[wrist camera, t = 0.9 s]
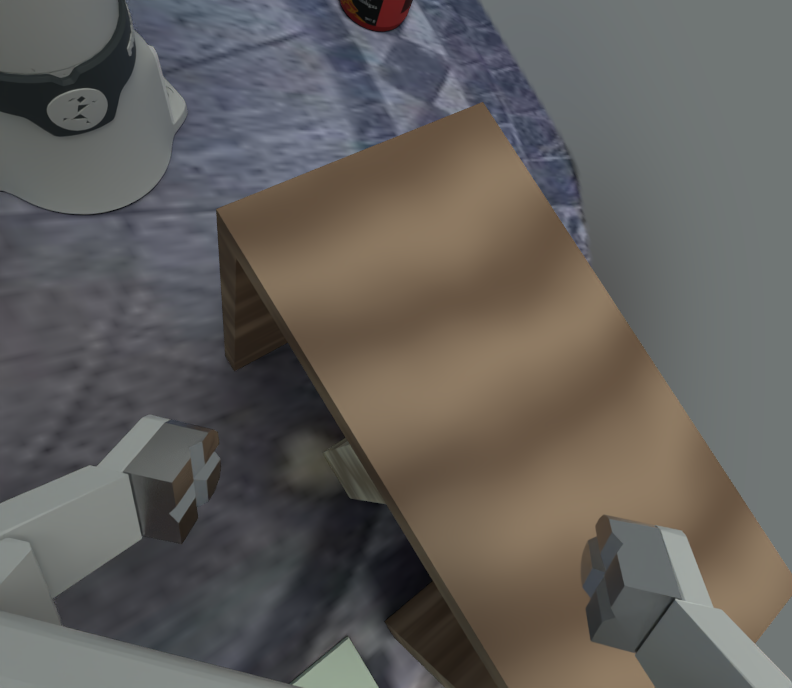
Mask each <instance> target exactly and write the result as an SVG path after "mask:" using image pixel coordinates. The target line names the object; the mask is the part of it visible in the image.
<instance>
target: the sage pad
mask: <svg viewBox="0 0 792 688" xmlns="http://www.w3.org/2000/svg"><path fill="white" fill-rule="evenodd" d="M290 684H291V685H295V686H299V687H303V688H379V687H378V686H377V684H376V682H375V681H374V679H373V677H372V676H371V674H370V672H369V671H368V669H367V667H366V666H365V664H364V662H363V661H362V659H361V657H360V656H359V654H358V652H357V650H356V649H355V647H354V645H353V644H352V642H351V640H350V639H349V637H348V636H347V637H346V638H344V639H343V640H342V641H341V642H339V643H338V644H337V645H336V646H335V647H333V648H332V649H331V650H330V651H329V652H327V653H326V654H325V655H324V656H322V657H321V658H320V659H319V660H318V661H316V662H315V663H314V664H313V665H312V666H310V667H309V668H308V669H307V670H305V671H304V672H303V673H302V674H301V675H299V676H298V677H297V678H296V679H295V680H293V681H292V682H291V683H290Z"/></svg>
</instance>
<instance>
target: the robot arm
mask: <svg viewBox="0 0 792 688" xmlns="http://www.w3.org/2000/svg"><path fill="white" fill-rule="evenodd" d="M187 113H188V110H187V107H186V103H185V101H184V99H183V98H182V96H181V95H180V94H179V93H178V92H177V91H176V90H175V89H174V88H173V86H172V85H171V84H170V83H169V82H168V81H167V80H166V79H165V78H164V77H163V74H162V70H161V67H160V63H159V59H158V56H157V53H156V51H155V49H154V47H152V46H149V45H147V43H146V42H145V41H144V39H143V38H142V37H141V36H140V35H139V34H138V33H137V32H136V31H135V30H134V28H133V23H132V19H131V15H130V11H129V9H128V6H127V3H126V2H125V0H0V191H5V192H8V193H10V194H13V195H15V196H17V197H19V198H21V199H23V200H25V201H27V202H29V203H31V204H34V205H36V206H39V207H42V208H45V209H48V210H52V211H56V212H62V213H70V214H95V213H102V212H107V211H111V210H115V209H118V208H121V207H124V206H126V205H129V204H131V203H133V202H135V201H136V200H138V199H140V198H141V197H143V196H144V195H145V194H147V193H148V192H149V191H150V190H151V189H152V188H153V187H154V186H155V185H156V184H157V183H158V182H159V181H160V179H161V178H162V176H163V175H164V173H165V171H166V169H167V166H168V164H169V161H170V157H171V151H172V143H173V138H174V135H175V133H176V132H177V130H178V129H179V128H180V126H181V125H182V124H183V122H184V120H185V119H186V117H187ZM218 445H219V437H218V432H217V431H215V430H213V429H209V428H205V427H200V426H196V425H192V424H188V423H184V422H180V421H176V420H172V419H171V420H170V419H166V418H162V417H158V416H154V415H150V414H149V415H147V416H145V417H143V418H141V419H140V420H139V421H138V422H137V424H136V425H135V426H134V427H133V428H132V429H131V430H130V431H129V432H128V433H127V434H126V435H125V436H124V437H123V439H122V440H121V441H120V442H119V443H118V444H117V445H116V446H115V447H114V448H113V449H112V450H111V451H110V452H109V453H108V455H107V456H106V457H105V458H104V459H103V460H102V461H101V462H100V463H99V464H98V465H97V466H91V465H89V466H87V467H84V468H82V469H80V470H77V471H75V472H72V473H70V474H68V475H65V476H63V477H61V478H58V479H56V480H54V481H51V482H49V483H47V484H44V485H42V486H40V487H37V488H35V489H33V490H30V491H28V492H26V493H23V494H21V495H18V496H16V497H14V498H11V499H9V500H7V501H4V502H2V503H0V688H303V687H299V686H295V685H291V684H287V683H283V682H279V681H275V680H271V679H267V678H263V677H259V676H256V675H252V674H248V673H244V672H240V671H236V670H232V669H228V668H224V667H220V666H216V665H212V664H209V663H205V662H201V661H197V660H193V659H189V658H185V657H181V656H177V655H173V654H169V653H165V652H162V651H158V650H154V649H150V648H146V647H142V646H138V645H134V644H130V643H126V642H122V641H119V640H115V639H111V638H107V637H103V636H99V635H95V634H91V633H87V632H83V631H79V630H75V629H72V628H68V627H64V626H61V618H60V616H59V614H58V611H57V609H56V606H55V604H54V601H53V598H54V597H56V596H57V595H59V594H60V593H62V592H63V591H65V590H66V589H68V588H69V587H71V586H72V585H74V584H75V583H77V582H78V581H80V580H81V579H83V578H84V577H86V576H87V575H89V574H90V573H91V572H93V571H94V570H96V569H97V568H99V567H100V566H102V565H103V564H105V563H106V562H108V561H109V560H111V559H112V558H114V557H115V556H117V555H118V554H120V553H121V552H123V551H124V550H126V549H127V548H129V547H130V546H132V545H133V544H135V543H136V542H138V541H139V540H141V539H142V536H144V537H149V538H154V539H159V540H163V541H168V542H173V543H178V544H182V543H183V541H184V540H185V538H186V537H187V535H188V534H189V532H190V530H191V529H192V527H193V526H194V524H195V522H196V521H197V519H198V513H197V508H198V507H199V506H201V505H203V504H205V503H207V502H208V501H209V500H210V498H211V496H212V495H213V493H214V491H215V489H216V486H217V483H218V481H219V478H220V471H221V459H220V457H219V456H218V455H217V454H216V453H215V449H216V448H217V446H218ZM595 529H596V534H597V536H596V537H594V538H592V539H590V540H588V541H587V543H586V545H585V548H584V550H583V553H582V559H581V582H582V588H583V589H584V590H585V592H586V593H587V594H588V595H589V597H590V598H591V599H590V601H589V603H588V604H587V606H586V608H585V610H586V616H587V622H588V628H589V635H590V641H591V642H594V643H598V644H602V645H606V646H609V647H613V648H617V649H621V650H625V651H628V652H632V653H636V654H635V657H636V658H637V660H638V661H639V663H640V665H641V666H642V668H643V669H644V671H645V672H646V674H647V675H648V677H649V679H650V680H651V682H652V683H653V685H654V686H655V688H792V682H791V681H790V680H789V679H788V678H787V676H786V675H785V674H784V673H783V672H782V671H781V670H780V669H779V668H778V667H777V666H776V665H775V664H774V663H773V662H772V661H771V660H770V659H769V658H768V657H767V656H766V655H765V654H764V653H763V652H762V651H761V650H760V649H759V648H758V646H757V645H756V644H755V643H754V642H753V641H752V640H751V639H750V638H749V637H748V636H747V635H746V634H745V633H744V632H743V631H742V630H741V629H740V628H739V627H738V626H737V625H736V624H735V623H734V622H733V621H732V620H731V619H730V618H729V617H728V615H727V614H726V613H725V612H724V611H723V610H721V609H717V608H714V607H713V605H712V602H711V599H710V597H709V594H708V591H707V589H706V586H705V584H704V581H703V578H702V576H701V573H700V571H699V568H698V565H697V563H696V560H695V558H694V555H693V552H692V550H691V547H690V545H689V542H688V539H687V537H686V535H685V534H684V533H683V532H682V531H681V530H677V529H672V528H667V527H662V526H658V525H652V524H648V523H643V522H639V521H634V520H629V519H624V518H619V517H614V516H610V515H605V514H604V515H602V516H601V517H600V518H599V520H598V521H597V523H596V525H595Z"/></svg>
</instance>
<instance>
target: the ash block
mask: <svg viewBox="0 0 792 688" xmlns="http://www.w3.org/2000/svg"><path fill="white" fill-rule="evenodd" d="M323 455H324V456H325V458H326V460H327V461H328V463H329V465H330V466H331V468H332V470H333V471H334V473H335V474H336V476H337V478H338V479H339V481H340V483H341V484H342V486H343V488H344V489H345V491H346V493H347V494H348V496H349V498H351V499H357V500H363V501H369V502H376V503H382V504H386V503H385V501H384V500H383V498H382V496H381V495H380V493H379V491H378V490H377V488H376V487H375V485H374V483H373V482H372V480H371V478H370V477H369V475H368V473H367V472H366V470H365V468H364V467H363V465H362V464H361V462H360V460H359V459H358V457H357V455H356V454H355V452H354V450H353V449H352V447H351V446H350V444H349V442H348V441H347V439H346V438H344V439H343V440H341V441H340V442H338V443H337V444H335V445H334V446H332V447H330V448H329V449H327V450H326V451H324V452H323Z"/></svg>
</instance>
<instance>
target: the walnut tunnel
mask: <svg viewBox="0 0 792 688" xmlns="http://www.w3.org/2000/svg"><path fill="white" fill-rule="evenodd" d="M216 214H217V231H218V247H219V263H220V279H221V295H222V311H223V327H224V343H225V356H226V358H227V360H228V361H229V363H230V365H231V366H232V368H233V370H234V371H236V370H238V369H240V368H241V367H243V366H245V365H247V364H249V363H251V362H253V361H254V360H256V359H258V358H260V357H262V356H264V355H266V354H267V353H269V352H271V351H273V350H275V349H277V348H279V347H280V346H282V345H284V344H286V343H288V344H289V345H290V347H291V349H292V350H293V352H294V354H295V355H296V357H297V359H298V360H299V362H300V363H301V365H302V367H303V368H304V370H305V372H306V373H307V375H308V377H309V378H310V380H311V381H312V383H313V385H314V386H315V388H316V390H317V391H318V393H319V395H320V396H321V398H322V400H323V401H324V403H325V404H326V406H327V408H328V409H329V411H330V413H331V414H332V416H333V418H334V419H335V421H336V423H337V424H338V426H339V427H340V429H341V431H342V432H343V434H344V436H345V437H346V439H347V441H348V442H349V444H350V446H351V447H352V449H353V450H354V452H355V454H356V455H357V457H358V459H359V460H360V462H361V464H362V465H363V467H364V468H365V470H366V472H367V473H368V475H369V477H370V478H371V480H372V482H373V483H374V485H375V487H376V488H377V490H378V491H379V493H380V495H381V496H382V498H383V500H384V501H385V503H386V505H387V506H388V508H389V510H390V511H391V513H392V514H393V516H394V518H395V519H396V521H397V523H398V524H399V526H400V528H401V529H402V531H403V532H404V534H405V536H406V537H407V539H408V541H409V542H410V544H411V546H412V547H413V549H414V551H415V552H416V554H417V555H418V557H419V559H420V560H421V562H422V564H423V565H424V567H425V569H426V570H427V572H428V574H429V575H430V577H431V578H432V580H433V581H432V582H431V583H430V584H429V585H427V586H426V587H425V588H424V589H423V590H421V591H420V592H419V593H418V594H417V595H415V596H414V597H413V598H412V599H411V600H410V601H408V602H407V603H406V604H405V605H404V606H402V607H401V608H400V609H399V610H398V611H396V612H395V613H394V614H393V615H392V616H390V617H389V618H388V619H387V620H386V621H385V623H386V625H387V626H388V628H389V630H390V631H391V633H392V635H393V636H394V638H395V639H396V640H397V641H398V642H399V643H400V644H401V645H402V646H403V647H404V648H405V649H406V650H407V651H408V652H409V653H410V654H411V655H413V656H414V657H415V658H416V659H417V660H418V661H419V662H420V663H421V664H422V665H423V666H424V667H425V668H426V669H427V670H428V671H429V672H430V673H431V674H432V675H433V676H434V677H435V678H436V679H437V680H438V681H439V682H440V683H441V684H442V685H443V686H444V687H445V688H655V686H654V685H653V683H652V682H651V680H650V679H649V677H648V675H647V674H646V672H645V671H644V669H643V668H642V666H641V665H640V663H639V661H638V660H637V658H636V657H635V654H636V653H632V652H628V651H625V650H621V649H617V648H613V647H609V646H606V645H602V644H598V643H594V642H591V641H590V635H589V628H588V622H587V616H586V610H585V608H586V606H587V604H588V603H589V601H590V599H591V598H590V597H589V595H588V594H587V593H586V592H585V590H584V589H583V588H582V582H581V559H582V553H583V550H584V548H585V545H586V543H587V541H588V540H590V539H592V538H594V537H596V536H597V534H596V529H595V525H596V523H597V521H598V520H599V518H600V517H601V516H602V515H604V514H605V515H610V516H614V517H619V518H624V519H629V520H634V521H639V522H643V523H648V524H652V525H658V526H662V527H667V528H672V529H677V530H681V531H682V532H683V533H684V534H685V535H686V537H687V539H688V542H689V545H690V547H691V550H692V552H693V555H694V558H695V560H696V563H697V565H698V568H699V571H700V573H701V576H702V578H703V581H704V584H705V586H706V589H707V591H708V594H709V597H710V599H711V602H712V605H713V607H714V608H717V609H721V610H723V611H724V612H725V613H726V614H727V615H728V617H729V618H730V619H731V620H732V621H733V622H734V623H735V624H736V625H737V626H738V627H739V628H740V629H741V630H742V631H743V632H744V633H745V634H746V635H747V636H748V637H749V638H750V639H751V640H752V641H753V642H754V643H756V642H757V640H758V639H759V638H760V636H761V635H762V634H763V632H764V631H765V630H766V629H767V627H768V626H769V625H770V624H771V622H772V621H773V620H774V618H775V617H776V616H777V614H778V613H779V612H780V611H781V609H782V608H783V607H784V605H785V604H786V603H787V602H788V600H789V599H790V598H791V596H792V574H791V572H790V571H789V569H788V567H787V566H786V565H785V563H784V561H783V560H782V558H781V557H780V555H779V554H778V552H777V551H776V549H775V548H774V546H773V545H772V543H771V542H770V540H769V538H768V537H767V535H766V534H765V532H764V531H763V529H762V528H761V526H760V525H759V523H758V522H757V520H756V519H755V517H754V516H753V514H752V512H751V511H750V509H749V508H748V506H747V505H746V503H745V502H744V500H743V499H742V497H741V496H740V494H739V493H738V491H737V490H736V488H735V487H734V485H733V484H732V482H731V480H730V479H729V477H728V476H727V474H726V473H725V471H724V470H723V468H722V467H721V465H720V464H719V462H718V461H717V459H716V457H715V456H714V454H713V453H712V451H711V450H710V448H709V447H708V445H707V444H706V442H705V441H704V439H703V438H702V436H701V435H700V433H699V432H698V430H697V429H696V427H695V425H694V424H693V422H692V421H691V419H690V418H689V416H688V415H687V413H686V412H685V410H684V409H683V407H682V406H681V404H680V403H679V401H678V399H677V398H676V396H675V395H674V393H673V392H672V390H671V389H670V387H669V386H668V384H667V383H666V381H665V380H664V378H663V377H662V375H661V373H660V372H659V371H658V369H657V367H656V366H655V364H654V363H653V361H652V360H651V358H650V357H649V355H648V354H647V352H646V351H645V349H644V347H643V346H642V344H641V343H640V341H639V340H638V338H637V337H636V335H635V334H634V332H633V331H632V329H631V328H630V326H629V325H628V323H627V322H626V320H625V318H624V317H623V315H622V314H621V312H620V311H619V309H618V308H617V306H616V305H615V303H614V302H613V300H612V299H611V297H610V296H609V294H608V292H607V291H606V290H605V288H604V286H603V285H602V283H601V282H600V280H599V279H598V277H597V276H596V274H595V273H594V271H593V270H592V268H591V267H590V265H589V263H588V262H587V260H586V259H585V257H584V256H583V254H582V253H581V251H580V250H579V248H578V247H577V245H576V244H575V242H574V241H573V239H572V237H571V236H570V234H569V233H568V231H567V230H566V228H565V227H564V225H563V224H562V222H561V221H560V219H559V218H558V216H557V215H556V213H555V212H554V210H553V208H552V207H551V205H550V204H549V202H548V201H547V199H546V198H545V196H544V195H543V193H542V192H541V190H540V189H539V187H538V186H537V184H536V182H535V181H534V179H533V178H532V176H531V175H530V173H529V172H528V170H527V169H526V167H525V166H524V164H523V163H522V161H521V160H520V158H519V157H518V155H517V153H516V152H515V150H514V149H513V147H512V146H511V144H510V143H509V141H508V140H507V138H506V137H505V135H504V134H503V132H502V131H501V129H500V127H499V126H498V124H497V123H496V121H495V120H494V118H493V117H492V115H491V114H490V112H489V111H488V109H487V108H486V106H485V105H484V103H483V102H482V103H479V104H477V105H474V106H472V107H469V108H467V109H464V110H462V111H459V112H457V113H454V114H452V115H449V116H447V117H445V118H442V119H440V120H437V121H435V122H432V123H430V124H427V125H425V126H422V127H420V128H417V129H415V130H412V131H410V132H407V133H405V134H402V135H400V136H397V137H395V138H392V139H390V140H387V141H385V142H382V143H380V144H377V145H375V146H372V147H370V148H367V149H365V150H362V151H360V152H357V153H355V154H352V155H350V156H347V157H345V158H342V159H340V160H337V161H335V162H332V163H330V164H327V165H325V166H322V167H320V168H317V169H315V170H312V171H310V172H307V173H305V174H302V175H300V176H297V177H295V178H292V179H290V180H287V181H285V182H283V183H280V184H278V185H275V186H273V187H270V188H268V189H265V190H263V191H260V192H258V193H255V194H253V195H250V196H248V197H245V198H243V199H240V200H238V201H235V202H233V203H230V204H228V205H225V206H223V207H220V208H218V209H216Z"/></svg>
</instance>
